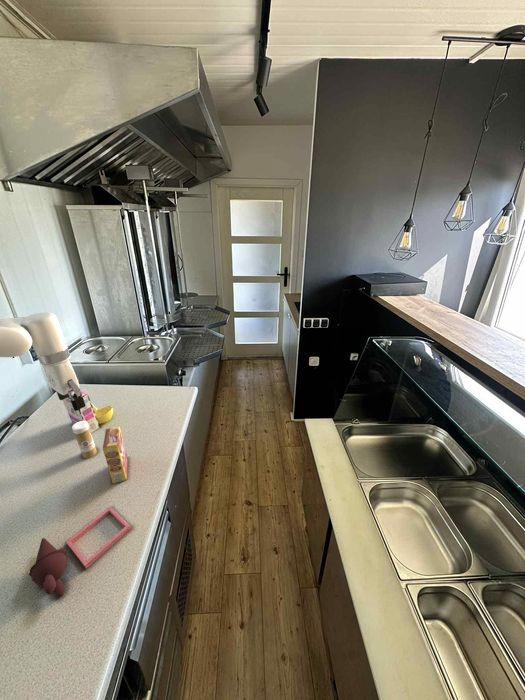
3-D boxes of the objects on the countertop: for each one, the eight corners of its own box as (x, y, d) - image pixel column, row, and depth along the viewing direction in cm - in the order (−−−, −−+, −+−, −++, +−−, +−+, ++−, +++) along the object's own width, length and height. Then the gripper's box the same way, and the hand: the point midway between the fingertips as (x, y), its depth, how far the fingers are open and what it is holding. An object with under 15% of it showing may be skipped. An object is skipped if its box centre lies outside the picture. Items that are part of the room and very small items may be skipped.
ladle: (97, 430, 110) (91, 418, 108) (78, 414, 128) (72, 403, 126) (119, 418, 115) (114, 406, 113) (98, 404, 134) (93, 393, 132)
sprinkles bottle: (85, 462, 97) (73, 431, 91) (81, 455, 100) (69, 424, 94) (99, 454, 100) (89, 424, 94) (95, 448, 103) (84, 418, 97)
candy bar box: (101, 427, 112) (88, 393, 104) (89, 435, 108) (74, 401, 101) (85, 418, 117) (71, 385, 110) (73, 426, 113) (58, 392, 106)
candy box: (128, 481, 90) (117, 444, 83) (113, 485, 89) (100, 448, 82) (129, 460, 98) (119, 425, 91) (115, 463, 96) (104, 428, 90)
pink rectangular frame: (87, 570, 68) (84, 566, 67) (68, 546, 73) (65, 541, 72) (131, 530, 76) (129, 525, 75) (111, 511, 81) (110, 506, 80)
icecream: (16, 546, 67) (25, 608, 57) (50, 521, 70) (64, 576, 61) (35, 555, 71) (47, 614, 62) (66, 531, 74) (82, 584, 65)
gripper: (27, 353, 84) (47, 400, 92) (53, 369, 76) (73, 419, 83) (55, 343, 90) (72, 389, 98) (82, 358, 81) (98, 406, 89)
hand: (72, 403), depth 90 cm, fingers open, 9 cm apart
